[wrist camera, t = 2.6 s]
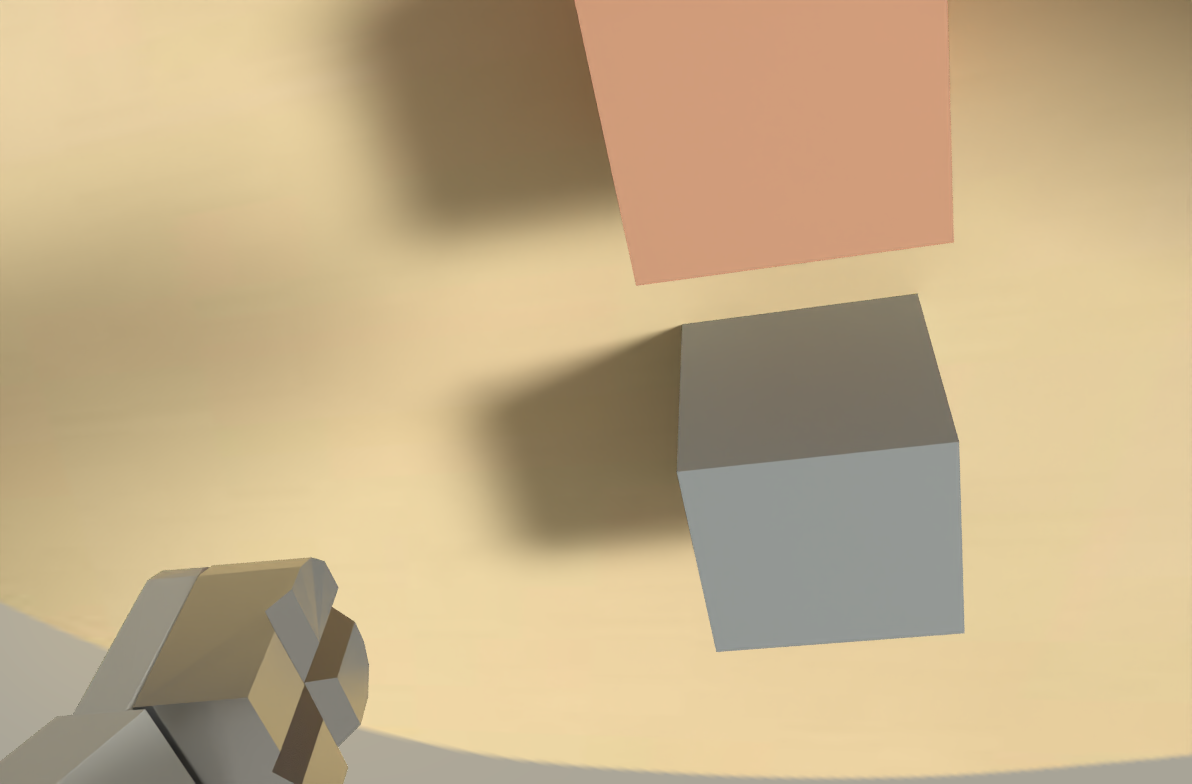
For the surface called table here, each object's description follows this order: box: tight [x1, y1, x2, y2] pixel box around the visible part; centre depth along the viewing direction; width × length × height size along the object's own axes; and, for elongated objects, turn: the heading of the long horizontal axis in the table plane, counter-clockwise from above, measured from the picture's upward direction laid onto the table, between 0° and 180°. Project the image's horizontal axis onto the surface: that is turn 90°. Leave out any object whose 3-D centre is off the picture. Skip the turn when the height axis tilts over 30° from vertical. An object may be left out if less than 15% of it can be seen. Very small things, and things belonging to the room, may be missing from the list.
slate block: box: [677, 294, 964, 652], centre depth 23 cm, size 5×5×5 cm
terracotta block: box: [574, 0, 954, 286], centre depth 18 cm, size 5×5×5 cm
